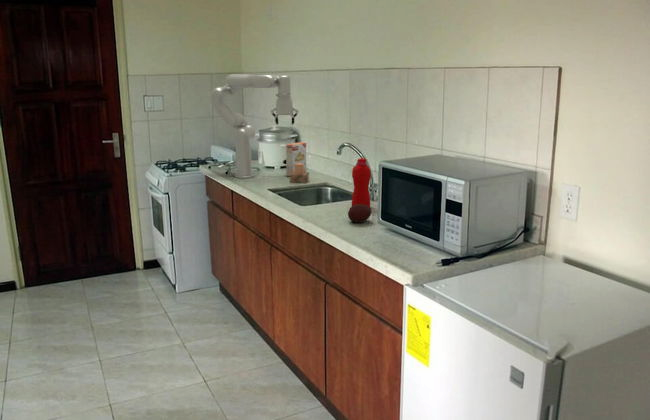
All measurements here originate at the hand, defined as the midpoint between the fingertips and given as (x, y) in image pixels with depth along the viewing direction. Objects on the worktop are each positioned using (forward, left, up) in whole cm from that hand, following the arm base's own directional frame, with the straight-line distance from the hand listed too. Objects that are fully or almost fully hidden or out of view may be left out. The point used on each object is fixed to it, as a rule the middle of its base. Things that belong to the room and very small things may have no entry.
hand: (284, 124), depth 329 cm
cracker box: (+5, +12, -34) cm, 37 cm away
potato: (+50, -95, -35) cm, 113 cm away
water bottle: (+49, -70, -34) cm, 92 cm away
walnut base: (+10, -8, -34) cm, 37 cm away
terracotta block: (+10, -8, -29) cm, 32 cm away
